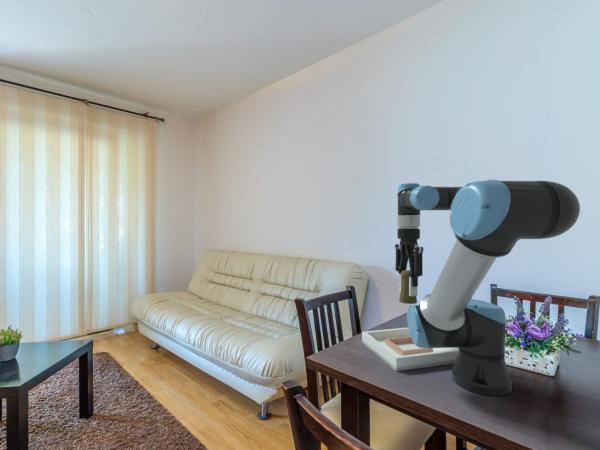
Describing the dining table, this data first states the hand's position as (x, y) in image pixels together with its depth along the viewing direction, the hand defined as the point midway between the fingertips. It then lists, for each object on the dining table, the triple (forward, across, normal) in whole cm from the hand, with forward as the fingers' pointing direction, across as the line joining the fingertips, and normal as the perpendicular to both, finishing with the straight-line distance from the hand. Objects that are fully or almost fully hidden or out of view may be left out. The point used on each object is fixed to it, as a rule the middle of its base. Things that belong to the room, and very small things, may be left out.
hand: (408, 293), depth 114 cm
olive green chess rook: (+3, 0, 0) cm, 3 cm away
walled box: (+21, 0, 0) cm, 21 cm away
